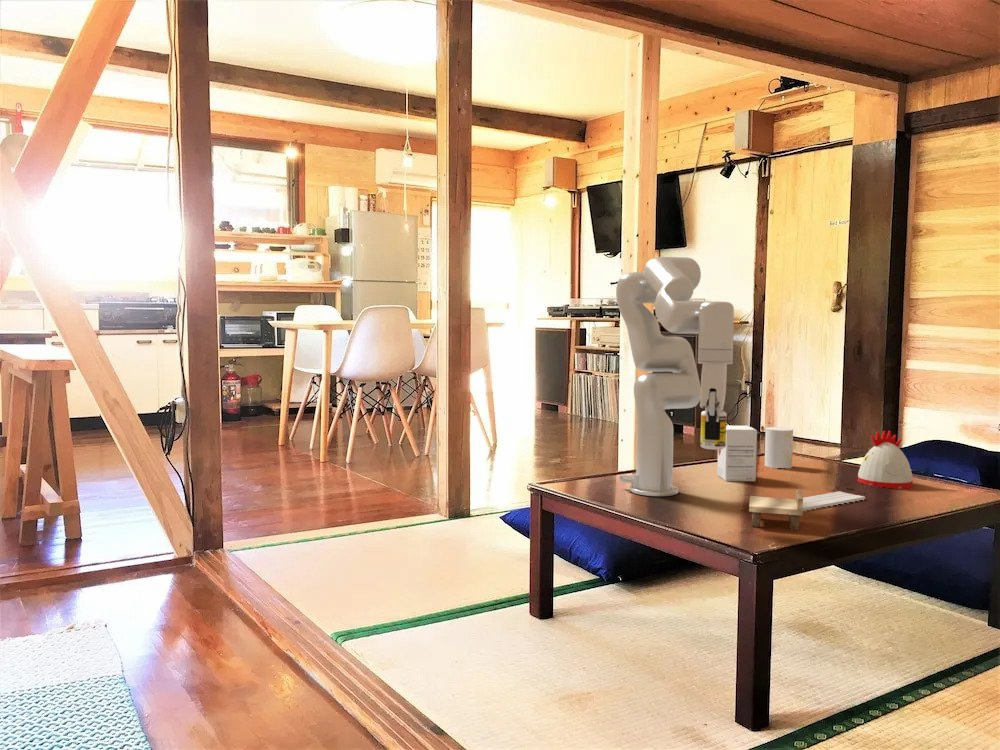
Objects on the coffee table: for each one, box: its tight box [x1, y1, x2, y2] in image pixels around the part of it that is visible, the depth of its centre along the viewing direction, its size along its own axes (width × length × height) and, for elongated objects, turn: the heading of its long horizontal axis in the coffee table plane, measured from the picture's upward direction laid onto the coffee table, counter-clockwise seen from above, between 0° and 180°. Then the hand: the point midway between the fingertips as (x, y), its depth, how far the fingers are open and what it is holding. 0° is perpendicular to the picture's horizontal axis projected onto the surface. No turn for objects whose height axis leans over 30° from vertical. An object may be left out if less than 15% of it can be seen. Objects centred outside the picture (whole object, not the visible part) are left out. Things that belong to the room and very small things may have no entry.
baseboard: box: [803, 486, 866, 512], centre depth 200 cm, size 30×3×10 cm
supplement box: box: [716, 424, 758, 482], centre depth 232 cm, size 9×9×15 cm
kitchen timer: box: [857, 430, 914, 490], centre depth 225 cm, size 14×14×15 cm
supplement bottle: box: [699, 404, 728, 451], centre depth 180 cm, size 6×6×10 cm
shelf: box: [748, 488, 804, 531], centre depth 179 cm, size 11×11×7 cm
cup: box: [764, 426, 794, 469], centre depth 251 cm, size 8×8×12 cm
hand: (713, 436), depth 180 cm, fingers closed on supplement bottle, 5 cm apart
